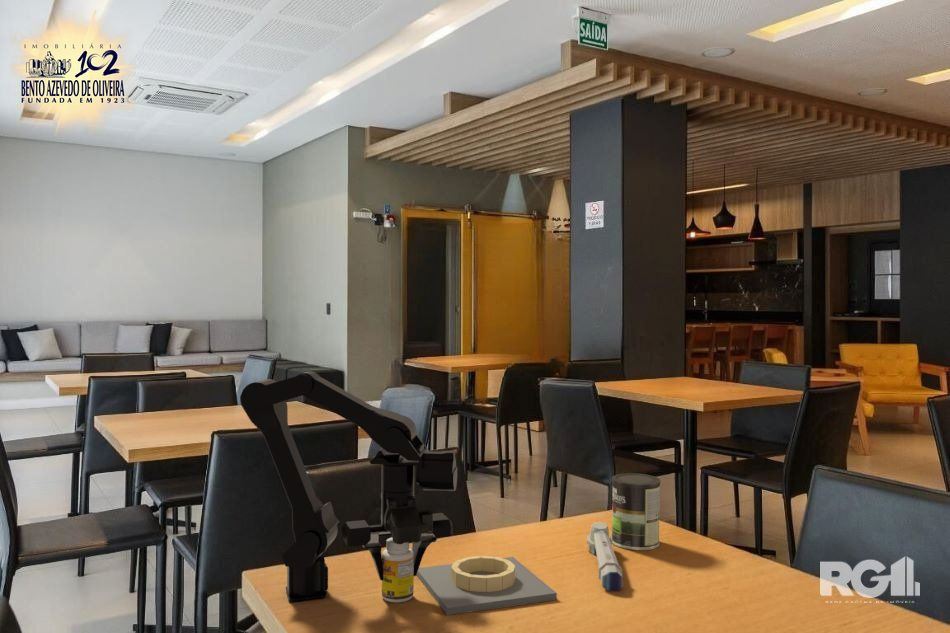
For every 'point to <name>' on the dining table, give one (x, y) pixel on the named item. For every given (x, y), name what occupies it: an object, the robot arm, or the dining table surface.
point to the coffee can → (635, 511)
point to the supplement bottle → (397, 572)
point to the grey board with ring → (483, 584)
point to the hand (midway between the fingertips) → (397, 577)
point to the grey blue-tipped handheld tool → (605, 557)
